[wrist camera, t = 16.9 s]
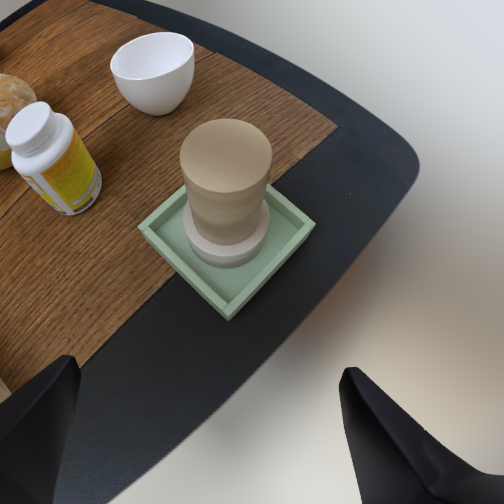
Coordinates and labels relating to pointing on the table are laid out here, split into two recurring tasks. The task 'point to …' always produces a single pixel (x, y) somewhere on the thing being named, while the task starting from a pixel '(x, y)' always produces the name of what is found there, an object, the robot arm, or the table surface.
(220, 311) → the mint green tray
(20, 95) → the fruit
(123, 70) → the cup
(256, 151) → the tan cylindrical piece
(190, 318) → the table surface
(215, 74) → the table surface
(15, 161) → the supplement bottle
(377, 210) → the table surface
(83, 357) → the table surface
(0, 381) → the stand
